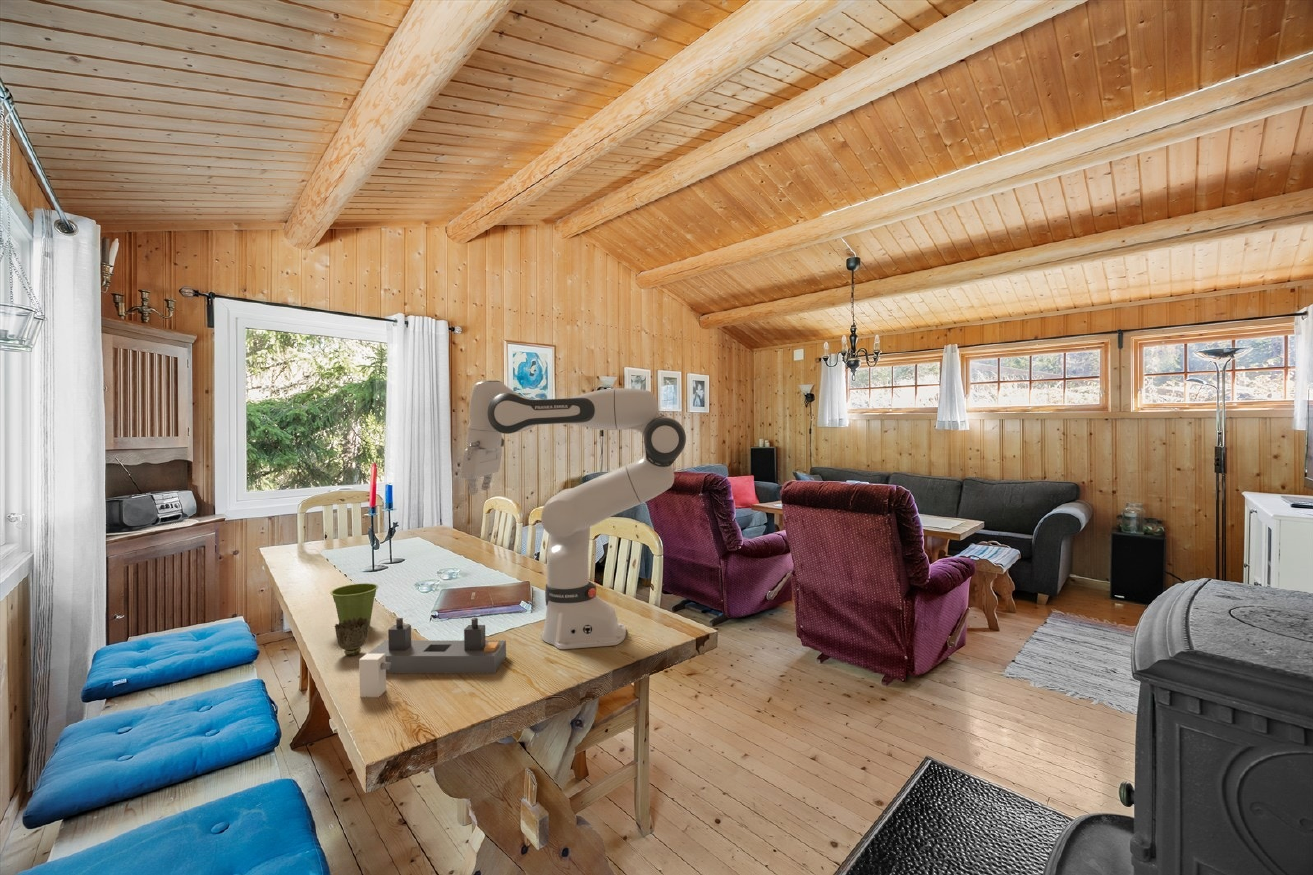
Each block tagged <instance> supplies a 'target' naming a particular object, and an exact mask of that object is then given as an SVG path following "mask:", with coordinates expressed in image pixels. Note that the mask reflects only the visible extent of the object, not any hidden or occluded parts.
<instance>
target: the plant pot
mask: <svg viewBox="0 0 1313 875" xmlns="http://www.w3.org/2000/svg"><path fill="white" fill-rule="evenodd" d="M378 589H379V585H378V584H376V583H362V582H361V583H354V584H353V583H352V584H347V585H342V586H339V587H337V588H334V589H332V590H331V591H330V595H331V596H332V598H333V603H335V604H334V605H335V609H336V613H337V618H338V623H339V622H341V623H343V621H344V620H346V621H347V620H348V619H350V620H351V621H352V620H353V618H356V620H358V619H359V618H360V617H362V618H364V619H365V618H366V619H367V622H368V620H369V624H368V628H369V627H370V626H371V621H372V614H373V606H374V602H375V598H376V593H377V590H378ZM352 622H353V621H352Z"/></svg>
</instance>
